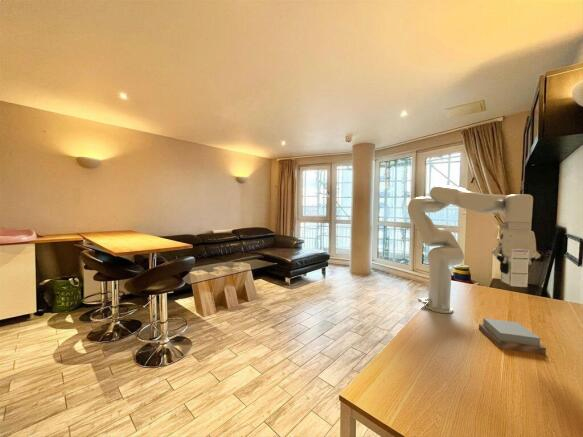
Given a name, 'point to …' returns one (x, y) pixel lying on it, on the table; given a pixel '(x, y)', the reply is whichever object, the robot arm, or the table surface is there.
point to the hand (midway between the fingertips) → (514, 273)
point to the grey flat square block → (512, 345)
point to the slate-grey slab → (511, 332)
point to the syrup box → (517, 269)
